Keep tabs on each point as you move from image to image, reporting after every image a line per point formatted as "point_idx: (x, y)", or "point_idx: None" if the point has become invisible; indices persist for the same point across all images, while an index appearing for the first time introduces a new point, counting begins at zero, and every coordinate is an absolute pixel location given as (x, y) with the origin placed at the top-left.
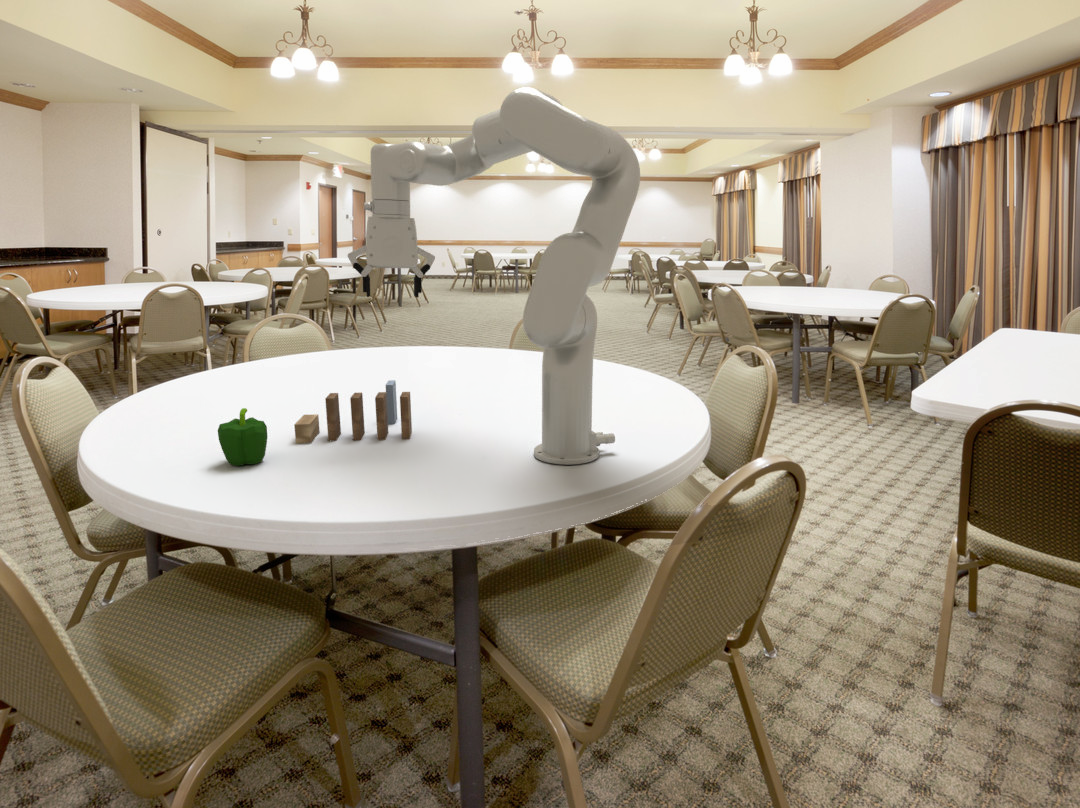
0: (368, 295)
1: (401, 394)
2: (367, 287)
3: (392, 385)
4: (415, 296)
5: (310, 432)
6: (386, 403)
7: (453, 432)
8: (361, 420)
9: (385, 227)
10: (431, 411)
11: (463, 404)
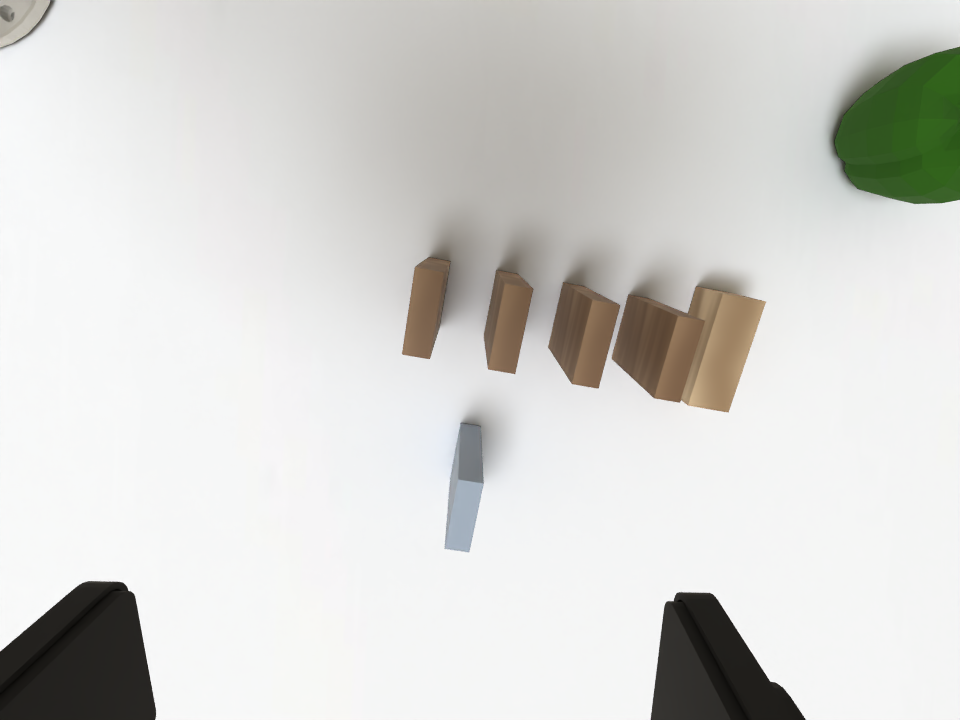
0: (693, 598)
1: (435, 317)
2: (758, 682)
3: (459, 478)
4: (124, 589)
5: (708, 294)
6: (488, 351)
7: (299, 294)
8: (566, 319)
9: None
10: (351, 528)
11: (255, 581)
